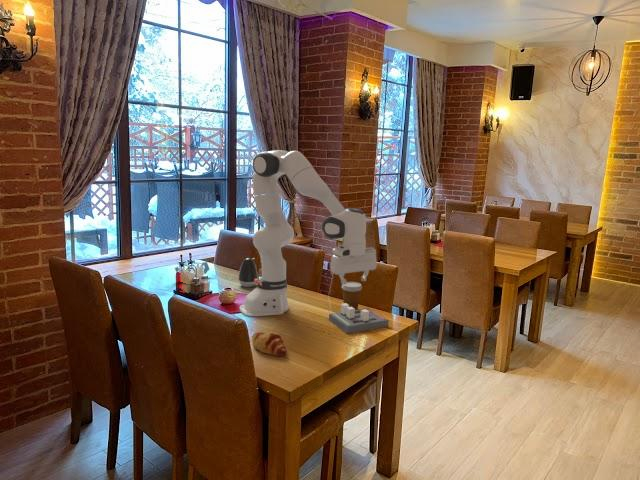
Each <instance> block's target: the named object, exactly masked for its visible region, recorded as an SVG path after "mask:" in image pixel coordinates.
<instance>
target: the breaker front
mask: <svg viewBox="0 0 640 480" xmlns="http://www.w3.org/2000/svg"><path fill="white" fill-rule="evenodd" d="M363 309H364V310H361V317H360V319H361V320H363V321H369V311H368V310H366V309H365V308H363Z"/></svg>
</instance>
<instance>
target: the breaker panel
mask: <svg viewBox="0 0 640 480" xmlns="http://www.w3.org/2000/svg"><path fill="white" fill-rule="evenodd" d="M364 309H366V310H368V311H369V321H363V320H361V319H360V317H361V310H364ZM328 321H329V322H331V323H332V324H333V325H335V326H336V327H337V328H339V329H340V330H341V331H342V332H344V333H345V334H352V333H357V332H358V333H359V332H363V331H370V330H376V329H383V328H388V327H389V318H386V317H385V316H383V315H381V314H380V313H378V312H376V311H374V310H373V309H371V308H369V307H366V308H365V307H364V308H358V310H355V317H354V318H350V319H349V318H348V317H347V316H346V314H345V315H344V314H342V313H341V311H339V312H337V311H336V312H331V313H329V314H328Z"/></svg>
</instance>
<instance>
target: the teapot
mask: <svg viewBox="0 0 640 480" xmlns="http://www.w3.org/2000/svg"><path fill="white" fill-rule="evenodd" d="M192 261H193V263H194V264H198V263H199V264H202V266H203V269H204V273H205V274H207V272H208V271H209V270H210V266H209V264H208V262H207V261H205V260H204V261H202V262H199V261H196V260H195V259H192ZM183 262H184V263H185V264H184V265H185V266H187V265H188V262H189V261H186V260H183ZM174 269H175V272H176V273H177V271H178V270H179V269H180V268H179V266H176V267H174Z"/></svg>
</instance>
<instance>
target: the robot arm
mask: <svg viewBox="0 0 640 480" xmlns="http://www.w3.org/2000/svg"><path fill="white" fill-rule="evenodd" d="M252 168H253V171H254V173H253V175H252V192H253V196H254V197H253V198H254V204H255V208H256V213H257V215H258V216H259V217H260V218H261V219H262V221H263V223H264V225H265V226H263V227H261V228H260V229H258V230H257V231H255V233H254V235H253V237H252V244H253V247H254V248H255V249H257V252H258V254H259V257H260V263H261V277H260V279H259V278H258V279H255V281H254V282H255V283H256V284H255V285H257V286H256V287H255V288H254V289H253V290H251V291H250V292H249V293H248V294H247V295H246V296H245V299H244V304H241V305H240V306H239V311H240V312H241V314H243V315H244V316H247V317H262V316H263V317H264V316H278V315H281V316H282V315H283V314H284V312H287V311H288V310H289V309H290V306H289V303H288V302H289V301H288V296H287V290H288V289H287V288H288V282H287V281H288V280H287V262H286V261H287V260H286V259H284V258H283V257H284V256H283V253H282V247H285V246H287V245H289V244H290V243H291V242H292V241H293V239H294V238H295V232H294V228H293V226H292V225H291V224H289V222H288V220H287V218H286V216H285V214H284V210H283V207H282V203H281V202H282V201H281V198H280V193H279V187H278V180H279V179H280V178H284V177H286V176H287V178H288V179H289V181H290V183H291V184H292V186H293V188H294V190H296V191H297V192H298V193H299V194H300V195H302V196H305V197H308V198H313V199H315V200H317V201H319V202H321V203H322V204H323V205H324V206H325V207H326V209H327V210H328V211H329V212H330V214H331V215H329V216H328V217H326V218H324V219H323V221H322V225H321V230H322V233H323V235H324V236H325V237H326V238H327V239H330V240H338V239H342V240H343V243H342V244H340V245H338V246H336V247H334V248H332V251H331V252H332V256H331V260H330V267H329V268H330V272H331V273H332V274H333V275H338V277H339V279H340V283H341V285H342V284H346V283H347V282H348V281H347V280H348V279H346V278H345V274H350V273H359V272H363V274H362V276H360V281H361V282H366V281H367V277H368V275H369V273H370V271H374V270H376V268H377V266H378V265H377V264H378V263H377V250H376V248H374V247H373V246H370V247H366V246H367V242H366V241H367V240H366V234H367V217H366V213H365V212H364V210H362V209H360V208H356V207H346V206H344V204H343V203H342V201H340V199H339V198H338V197H337V195H336V193H334V192H333V190H332V189H331V188H330V186H328V184H327V183H326V182H325V181H324V180H323V179H322V178H321V176H320V175H319V174H318V173H317V171H316V170H315V168H314V166H313V165H312V164H311V162H310V161H309V159H307V158H306V156H305V155H304V154H303V153H302V152H301V151H299V150H291V151H290V150H287V149H283V150H282V149H274V150H273V149H272V150H269V151H261V152H259V153H257V154H256V155H255V156H254V158H253V160H252Z"/></svg>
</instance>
